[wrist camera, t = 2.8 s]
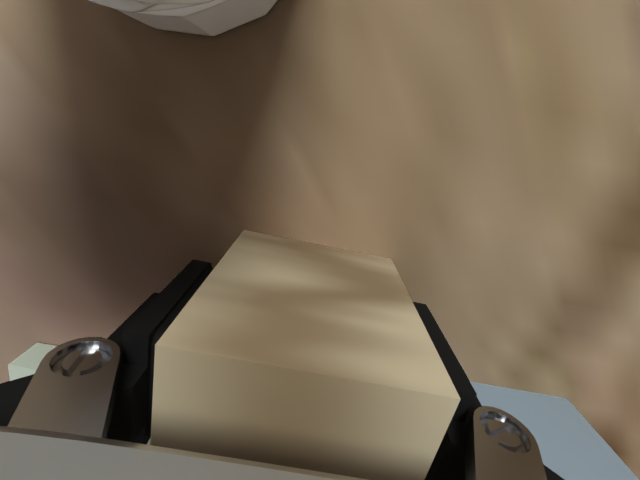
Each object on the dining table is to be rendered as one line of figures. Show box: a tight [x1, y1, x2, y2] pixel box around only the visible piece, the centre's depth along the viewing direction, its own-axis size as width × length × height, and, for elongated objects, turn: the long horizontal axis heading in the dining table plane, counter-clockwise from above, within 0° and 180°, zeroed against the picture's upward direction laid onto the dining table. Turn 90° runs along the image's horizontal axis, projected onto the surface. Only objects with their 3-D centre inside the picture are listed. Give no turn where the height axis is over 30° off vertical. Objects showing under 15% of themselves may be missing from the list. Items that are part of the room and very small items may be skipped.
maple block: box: [150, 230, 461, 480], centre depth 9 cm, size 5×5×6 cm
